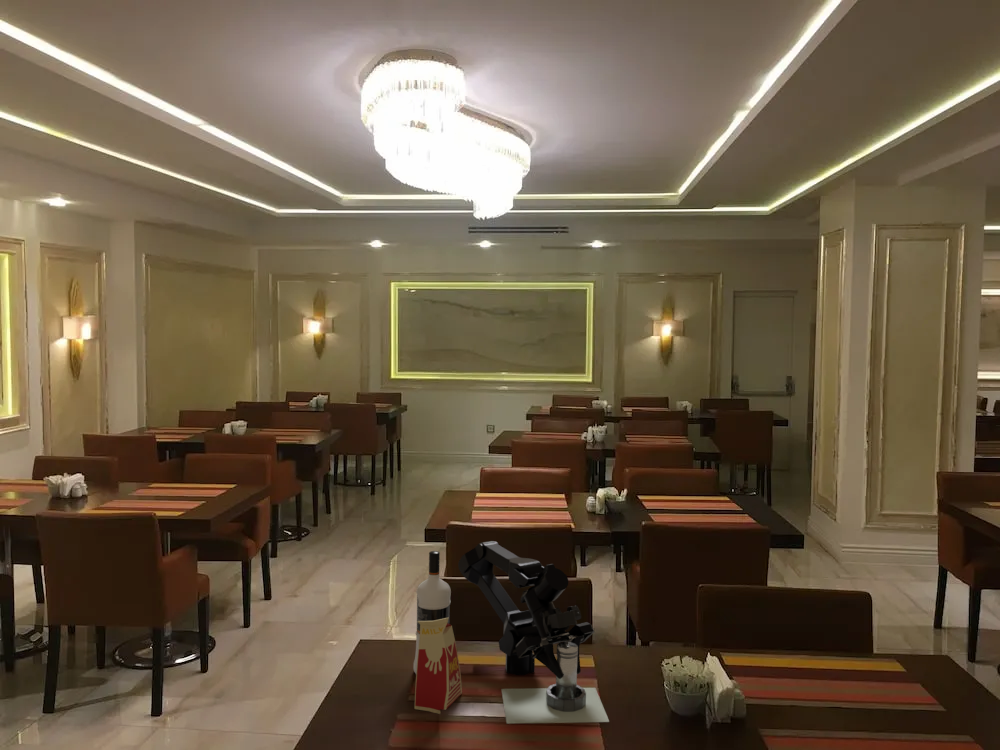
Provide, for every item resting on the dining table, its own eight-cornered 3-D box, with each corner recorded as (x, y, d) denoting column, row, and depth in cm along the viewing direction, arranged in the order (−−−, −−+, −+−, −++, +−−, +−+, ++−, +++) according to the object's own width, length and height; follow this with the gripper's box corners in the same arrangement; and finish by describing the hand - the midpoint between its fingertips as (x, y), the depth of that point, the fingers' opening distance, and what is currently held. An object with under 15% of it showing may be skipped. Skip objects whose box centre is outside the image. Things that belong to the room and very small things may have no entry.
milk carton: (462, 697, 184) (463, 612, 183) (446, 716, 175) (448, 626, 174) (425, 690, 187) (427, 606, 186) (408, 708, 178) (409, 620, 177)
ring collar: (549, 711, 176) (549, 700, 175) (544, 693, 184) (544, 683, 184) (588, 711, 176) (588, 700, 176) (581, 693, 185) (581, 682, 185)
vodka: (448, 681, 192) (450, 558, 190) (410, 679, 193) (411, 556, 191) (453, 665, 201) (455, 547, 199) (417, 663, 202) (418, 545, 200)
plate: (506, 728, 170) (506, 723, 170) (501, 693, 186) (501, 688, 186) (609, 727, 172) (609, 721, 172) (595, 692, 188) (595, 687, 188)
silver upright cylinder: (562, 705, 177) (564, 652, 176) (551, 696, 181) (552, 644, 180) (580, 700, 179) (582, 648, 178) (568, 691, 183) (570, 640, 183)
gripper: (523, 601, 177) (551, 669, 168) (590, 588, 187) (620, 651, 178) (503, 624, 184) (529, 690, 176) (569, 610, 194) (596, 672, 186)
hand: (570, 675), depth 179 cm, fingers closed on silver upright cylinder, 5 cm apart
